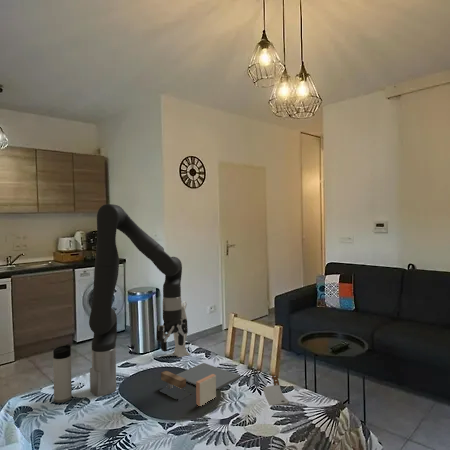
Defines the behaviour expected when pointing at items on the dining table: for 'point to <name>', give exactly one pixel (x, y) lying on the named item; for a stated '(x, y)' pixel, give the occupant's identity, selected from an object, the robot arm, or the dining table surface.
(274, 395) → the kitchen cleaver
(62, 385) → the travel mug
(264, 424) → the dining table surface
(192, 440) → the dining table surface
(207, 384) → the tile
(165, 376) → the plastering trowel
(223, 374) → the mat
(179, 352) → the skyscraper
